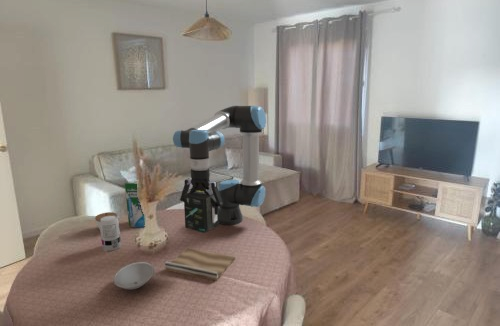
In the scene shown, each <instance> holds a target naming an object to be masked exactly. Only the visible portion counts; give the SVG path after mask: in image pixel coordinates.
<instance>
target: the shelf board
mask: <svg viewBox="0 0 500 326" xmlns="http://www.w3.org/2000/svg"><path fill="white" fill-rule="evenodd" d="M235 260H236V256H235V255H234V256H233V255H227V254H222V253H216V252H211V251H206V250H200V249H195V248H190V247H188V248H186V249H185V250H184V251H182V253H181V254H179V255H178V256H177V257H176V258H174V259H173V260H172V261H165V262H164V267H165V270H166V271H169V272H174V273H178V274H184V275H187V276H192V277H196V278H200V279H201V278H203V279H206V280H211V281H215V282H216V281H218V280H219V279H220V278H221V277H222V275H224V273H225V272H226V271H227V269H229V268H230V266H231V265H232V264H233V263H234V262H235Z"/></svg>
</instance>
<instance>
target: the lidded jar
mask: <svg viewBox="0 0 500 326" xmlns="http://www.w3.org/2000/svg"><path fill="white" fill-rule="evenodd" d="M111 215H112V216H116V217H117V218H118V215H117V213H116V212H112V211H111V212H102V213H99V214H97V215H96V216H95V217H94V219H95V224H96V226H97V228H98V229H99V230H100V224H99V223H100V220H101V218H103V217H105V216H111Z"/></svg>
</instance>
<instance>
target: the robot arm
mask: <svg viewBox="0 0 500 326" xmlns="http://www.w3.org/2000/svg"><path fill="white" fill-rule="evenodd" d="M266 124H267V116H266V113H265V111H264V108H263V107H262V106H260V105H259V106H257V105H232V106H228V107H225V108H223V109H221V110H218V111H217V112H215V113H214V115H213V116H211V117H209V118H208V119H205V120H203V121H202V122H199V123H198V124H196V125H193V126H192V127H190V128H188V129H185V130H182V129H181V130H176V131H175V132H174V133H173V135H172V142H173V144H174V147H177V148H181V149H189V162H190V163H189V165H190V166H189V167H190V178H191V179H190V178H187V179H184V185H183V189H182V192H181V195H180V198H179V201H181V202H183V203H184V194H187V193H194V192H195V191H201V192H203V191H204V193H205V194H206V195H209V196H211V195H212V194H214V197H211V203H212V204H213V207H212V219H213V223H215V222H216V221H217V214H218V216H219V225H225V226H230V225H233V226H234V225H237V224H240V223H241V222H243V218H244V217H243V213H242V211H241V207H240V206H246V207H250V208H259V207H261V205H262V204H264V200H265V197H266V187H265V186H264V185H262V184H263V183H262V182H263V181H261V180H260V135H261V134H262V132H263V130H264V129H265V127H266ZM231 128H232V129H233V128H234V129H239V133H240V134H241V135H242V179H241V180H240V181H239V179H233V178H232V179H226V180H222V181H220V182H219V183H218V182H217V181H210V177H211V175H210V152H211V151H216V150H218V149H220V148H222V147H223V146H224V145H225V141H226V140H225V139H226V138H225V136H224V135H223V133H222V132H220V130H226V129H231ZM191 185H192V187H191V188H190V186H191ZM212 192H213V193H212Z"/></svg>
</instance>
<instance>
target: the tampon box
mask: <svg viewBox="0 0 500 326" xmlns="http://www.w3.org/2000/svg"><path fill="white" fill-rule="evenodd" d="M211 192H212V193H213V191H211ZM211 197H214V194H212V195H211V196H209V195H206V194H205V193H204V191H203V192H201V191H195V192H194V193H189V192H188V193H187V194H184V202H183V205H184V207H183V210H184V225H185V227H184V228H186V229H189V230H192V231H197V232H199V233H204V234H205V233H207V232H209V231H211V230H212V229H214V228H217V227H218V226H219V225H220V223H219V216H218V214H217V221H216V222H215V223H213V219H212V207H213V204H212V203H211Z"/></svg>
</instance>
